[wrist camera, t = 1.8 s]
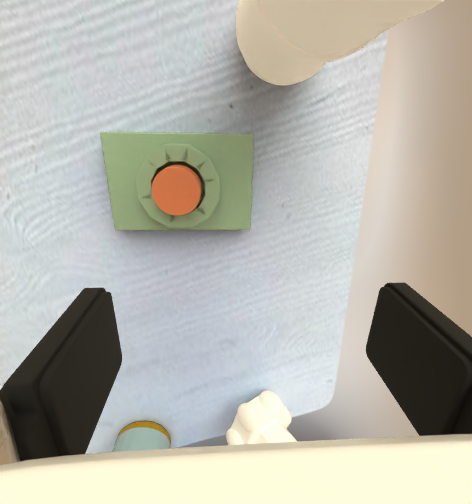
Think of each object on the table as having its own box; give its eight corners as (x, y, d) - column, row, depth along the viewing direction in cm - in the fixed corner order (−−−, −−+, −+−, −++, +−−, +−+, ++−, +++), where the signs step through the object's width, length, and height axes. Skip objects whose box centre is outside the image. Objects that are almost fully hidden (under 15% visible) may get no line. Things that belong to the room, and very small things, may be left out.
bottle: (147, 410, 37) (107, 575, 24) (182, 438, 40) (163, 602, 26) (107, 433, 39) (46, 603, 25) (143, 459, 41) (105, 627, 27)
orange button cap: (158, 209, 24) (153, 215, 22) (153, 164, 22) (148, 166, 21) (202, 209, 24) (201, 215, 22) (201, 164, 22) (199, 167, 21)
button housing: (122, 222, 28) (107, 237, 24) (109, 131, 24) (90, 132, 21) (248, 222, 28) (252, 236, 25) (250, 134, 25) (256, 134, 22)
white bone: (285, 403, 40) (244, 452, 38) (259, 376, 35) (210, 432, 33) (390, 512, 28) (338, 591, 26) (374, 496, 23) (309, 592, 21)
